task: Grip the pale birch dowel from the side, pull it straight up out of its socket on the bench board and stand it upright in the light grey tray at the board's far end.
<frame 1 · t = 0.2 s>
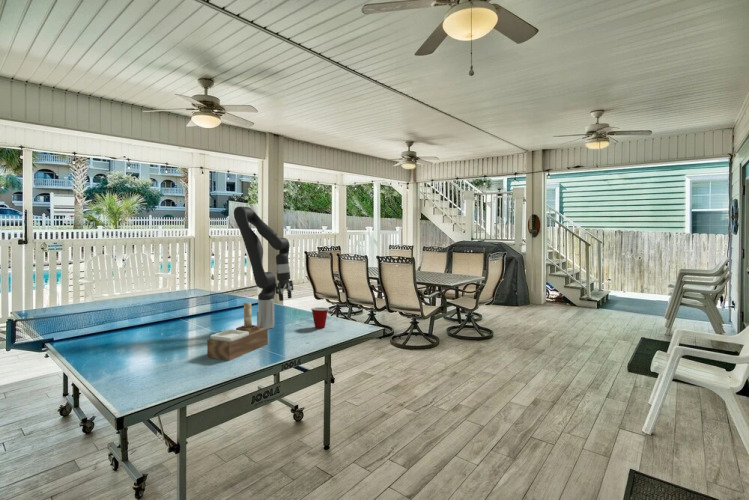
hand: (285, 299, 227), 18 cm above the table, tool pointing down, fingers open, 8 cm apart
tray: (230, 337, 182), resting on bench board
bench board: (239, 350, 188), on the table
plastic cup: (320, 327, 233), on the table
dowel: (248, 330, 194), point 8 cm above the table, touching bench board
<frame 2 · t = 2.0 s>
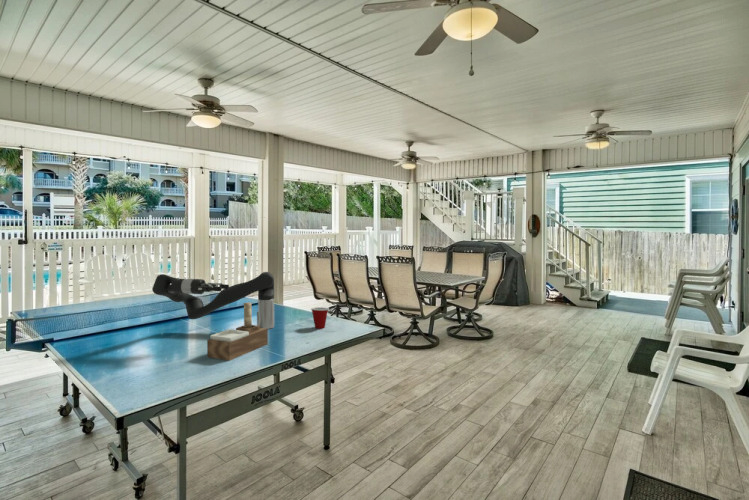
hand: (224, 287, 194), 30 cm above the table, tool horizontal, fingers open, 8 cm apart
nothing on the table moved.
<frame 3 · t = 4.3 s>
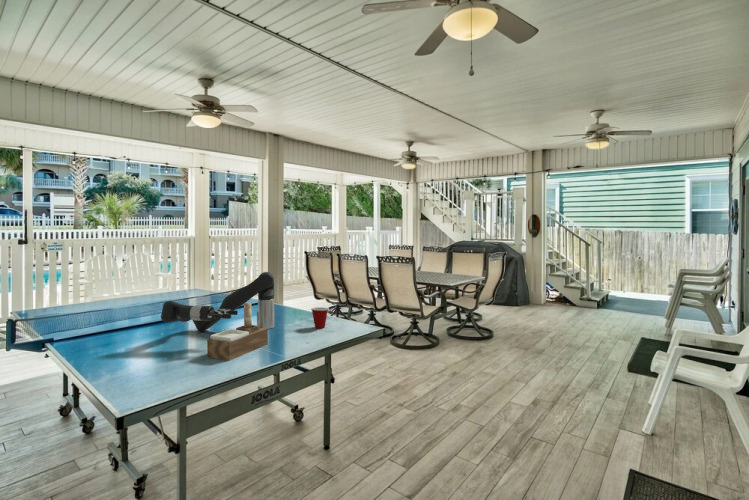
hand: (234, 314, 193), 16 cm above the table, tool horizontal, fingers open, 8 cm apart
nothing on the table moved.
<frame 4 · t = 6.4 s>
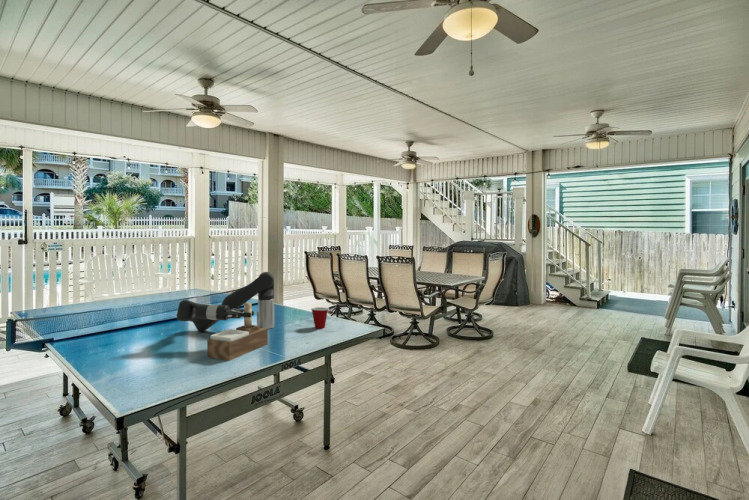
hand: (252, 314, 194), 16 cm above the table, tool horizontal, fingers closed on dowel, 3 cm apart
dowel: (248, 330, 194), point 8 cm above the table, touching bench board, gripper
everything else where it was.
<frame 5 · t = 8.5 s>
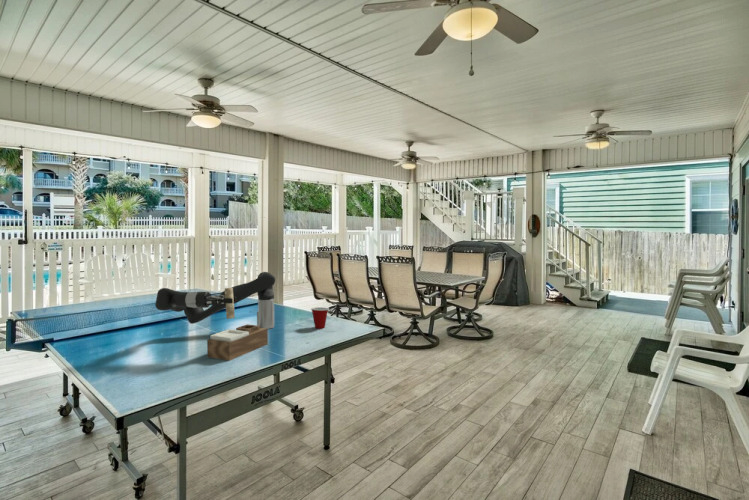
hand: (234, 299, 182), 26 cm above the table, tool horizontal, fingers closed on dowel, 3 cm apart
dowel: (230, 317, 182), point 17 cm above the table, touching gripper
everything else where it was.
when the fingers open (18 cm above the table, at t = 10.4 s): dowel stays where it is, resting on tray.
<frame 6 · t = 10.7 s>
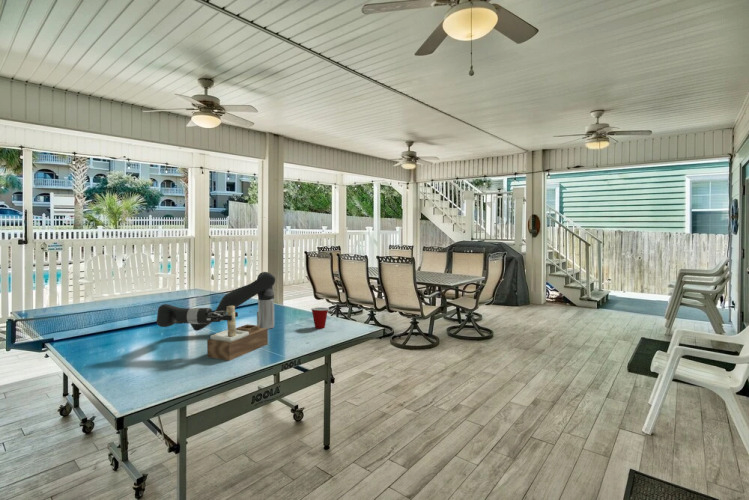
hand: (234, 316, 182), 18 cm above the table, tool horizontal, fingers open, 6 cm apart
dowel: (232, 335, 182), point 9 cm above the table, touching tray
everything else where it was.
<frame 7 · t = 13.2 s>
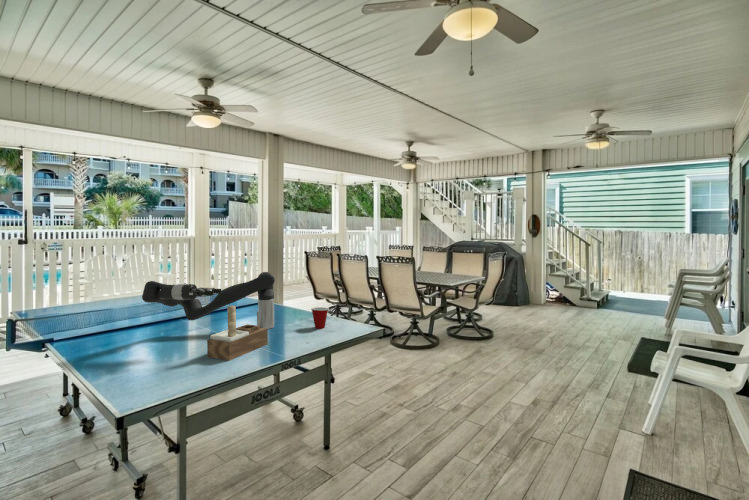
hand: (217, 292, 187), 29 cm above the table, tool horizontal, fingers open, 8 cm apart
nothing on the table moved.
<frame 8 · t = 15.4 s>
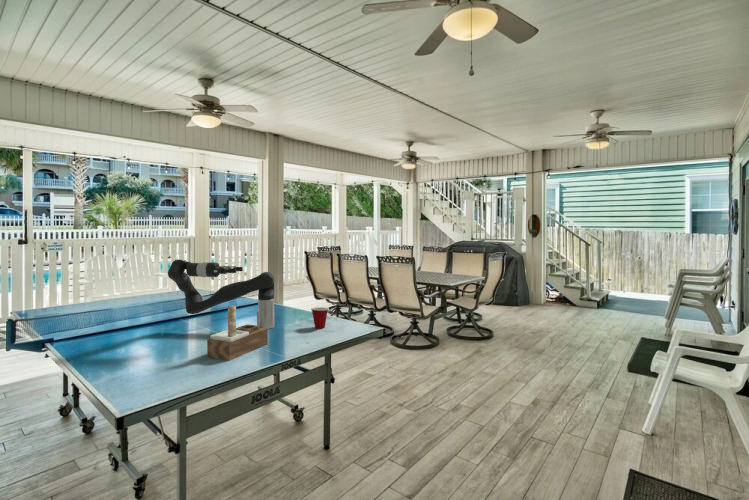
hand: (239, 269, 199), 38 cm above the table, tool horizontal, fingers open, 8 cm apart
nothing on the table moved.
at the end: dowel inside the target area on the tray (1.0 cm from its centre), point 0.6 cm above the tray's base; dowel tilted 1°; the gripper is holding nothing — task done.
